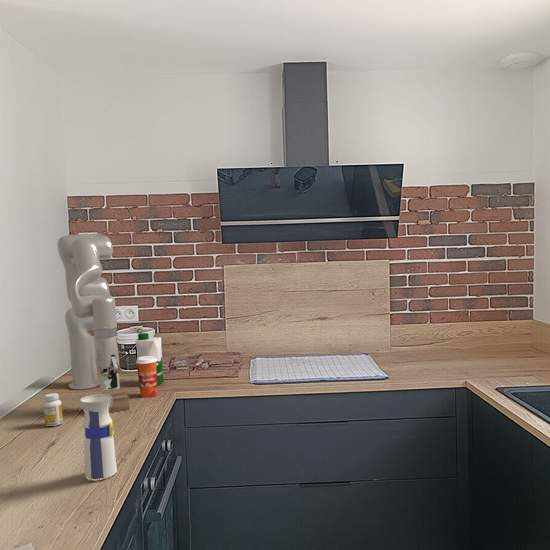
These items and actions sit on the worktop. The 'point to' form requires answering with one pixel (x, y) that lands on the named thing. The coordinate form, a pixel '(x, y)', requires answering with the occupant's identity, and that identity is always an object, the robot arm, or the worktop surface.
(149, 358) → the paper cup
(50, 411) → the supplement bottle
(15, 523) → the worktop surface
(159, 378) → the milk carton
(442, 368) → the worktop surface
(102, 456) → the white blue vase
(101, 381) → the sage block
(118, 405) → the walnut block
